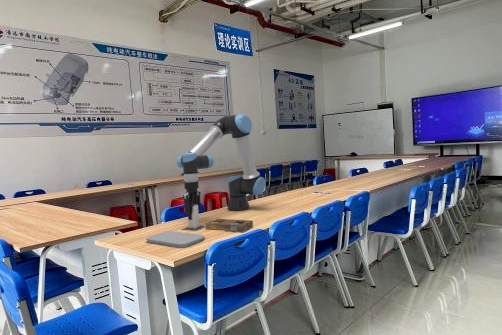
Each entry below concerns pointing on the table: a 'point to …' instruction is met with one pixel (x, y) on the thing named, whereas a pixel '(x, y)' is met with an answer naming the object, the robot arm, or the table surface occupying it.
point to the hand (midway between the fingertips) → (193, 224)
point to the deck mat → (193, 228)
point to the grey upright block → (195, 216)
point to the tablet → (175, 239)
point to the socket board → (229, 225)
